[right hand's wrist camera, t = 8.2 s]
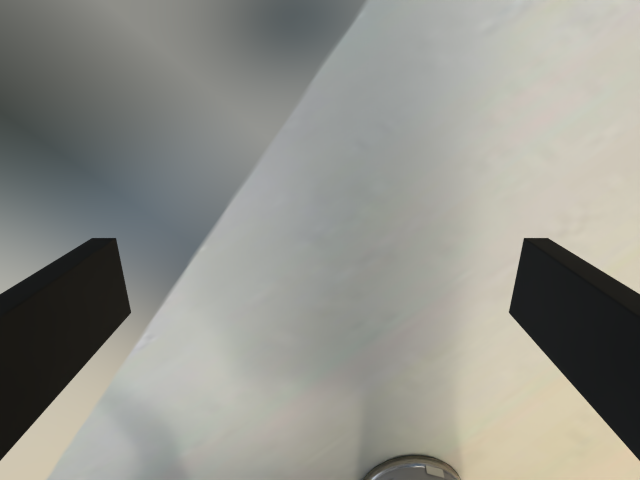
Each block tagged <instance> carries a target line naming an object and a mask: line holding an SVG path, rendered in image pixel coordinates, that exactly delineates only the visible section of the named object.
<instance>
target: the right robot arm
mask: <svg viewBox="0 0 640 480" xmlns="http://www.w3.org/2000/svg"><path fill="white" fill-rule="evenodd" d="M130 313H131V310H130V305H129V300H128V295H127V290H126V285H125V281H124V276H123V271H122V266H121V261H120V256H119V251H118V246H117V241H116V238H92V239H90V240H88V241H87V242H85V243H83V244H82V245H80V246H78V247H77V248H75V249H74V250H72V251H70V252H69V253H67V254H65V255H64V256H62V257H61V258H59V259H57V260H56V261H54V262H52V263H51V264H49V265H47V266H46V267H44V268H43V269H41V270H39V271H38V272H36V273H34V274H33V275H31V276H30V277H28V278H26V279H25V280H23V281H21V282H20V283H18V284H16V285H15V286H13V287H11V288H10V289H8V290H7V291H5V292H3V293H2V294H0V460H1V459H2V458H3V457H4V456H5V455H6V454H7V452H8V451H9V450H10V449H11V448H12V447H13V446H14V445H15V443H16V442H17V441H18V440H19V439H20V438H21V437H22V435H23V434H24V433H25V432H26V431H27V430H28V429H29V428H30V426H31V425H32V424H33V423H34V422H35V421H36V420H37V419H38V417H39V416H40V415H41V414H42V413H43V412H44V411H45V409H46V408H47V407H48V406H49V405H50V404H51V403H52V401H53V400H54V399H55V398H56V397H57V396H58V395H59V394H60V392H61V391H62V390H63V389H64V388H65V387H66V386H67V385H68V383H69V382H70V381H71V380H72V379H73V378H74V377H75V376H76V374H77V373H78V372H79V371H80V370H81V369H82V368H83V366H84V365H85V364H86V363H87V362H88V361H89V360H90V358H91V357H92V356H93V355H94V354H95V353H96V352H97V351H98V349H99V348H100V347H101V346H102V345H103V344H104V343H105V342H106V340H107V339H108V338H109V337H110V336H111V335H112V334H113V332H114V331H115V330H116V329H117V328H118V327H119V326H120V325H121V323H122V322H123V321H124V320H125V319H126V318H127V317H128V316H129V314H130ZM509 313H510V314H511V316H512V317H513V318H514V319H515V320H516V321H517V322H518V323H519V325H520V326H521V327H522V328H523V329H524V330H525V331H526V332H527V334H528V335H529V336H530V337H531V338H532V339H533V340H534V342H535V343H536V344H537V345H538V346H539V347H540V348H541V349H542V351H543V352H544V353H545V354H546V355H547V356H548V357H549V359H550V360H551V361H552V362H553V363H554V364H555V365H556V366H557V368H558V369H559V370H560V371H561V372H562V373H563V374H564V376H565V377H566V378H567V379H568V380H569V381H570V382H571V383H572V385H573V386H574V387H575V388H576V389H577V390H578V391H579V392H580V394H581V395H582V396H583V397H584V398H585V399H586V400H587V402H588V403H589V404H590V405H591V406H592V407H593V408H594V409H595V411H596V412H597V413H598V414H599V415H600V416H601V417H602V419H603V420H604V421H605V422H606V423H607V424H608V425H609V426H610V428H611V429H612V430H613V431H614V432H615V433H616V434H617V435H618V437H619V438H620V439H621V440H622V441H623V442H624V443H625V445H626V446H627V447H628V448H629V449H630V450H631V451H632V452H633V454H634V455H635V456H636V457H637V458H638V459H639V460H640V294H638V293H637V292H635V291H633V290H632V289H630V288H629V287H627V286H625V285H624V284H622V283H620V282H619V281H617V280H615V279H614V278H612V277H611V276H609V275H607V274H606V273H604V272H602V271H601V270H599V269H597V268H596V267H594V266H593V265H591V264H589V263H588V262H586V261H584V260H583V259H581V258H579V257H578V256H576V255H575V254H573V253H571V252H570V251H568V250H566V249H565V248H563V247H562V246H560V245H558V244H557V243H555V242H553V241H552V240H550V239H548V238H524V241H523V246H522V251H521V256H520V261H519V266H518V271H517V275H516V280H515V285H514V290H513V295H512V300H511V305H510V310H509ZM363 480H460V478H459V476H458V474H457V473H456V472H455V470H454V469H452V468H451V467H450V466H449V465H447V464H446V463H444V462H442V461H440V460H437V459H434V458H430V457H425V456H404V457H399V458H395V459H392V460H389V461H386V462H384V463H382V464H380V465H378V466H377V467H375V468H374V469H373V470H371V471H370V472H369V473H368V474H367V475H366V477H365V478H364V479H363Z"/></svg>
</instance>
